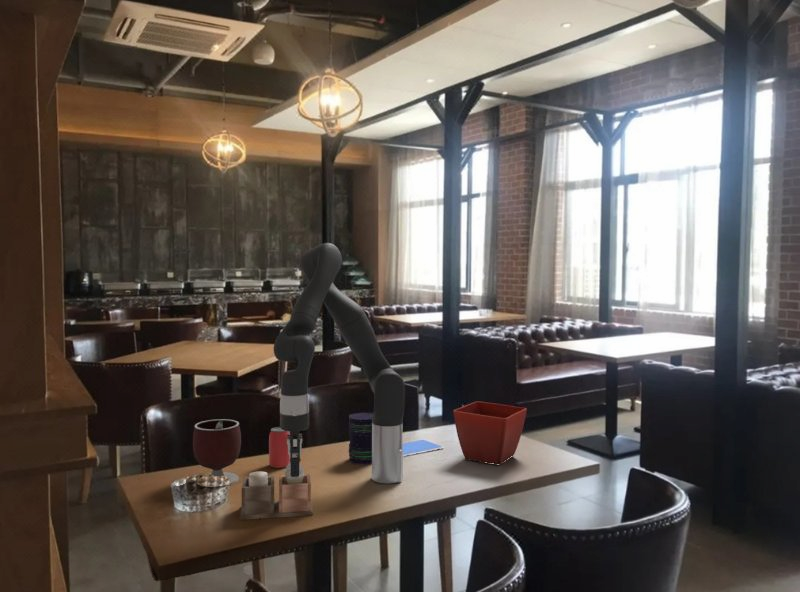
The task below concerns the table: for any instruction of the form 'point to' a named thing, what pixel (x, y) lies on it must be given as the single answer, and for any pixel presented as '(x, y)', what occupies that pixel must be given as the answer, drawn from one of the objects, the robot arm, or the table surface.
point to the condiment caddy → (262, 501)
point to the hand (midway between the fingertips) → (294, 471)
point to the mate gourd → (217, 445)
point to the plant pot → (489, 430)
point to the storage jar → (360, 438)
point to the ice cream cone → (294, 479)
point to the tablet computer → (418, 447)
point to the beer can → (278, 448)
